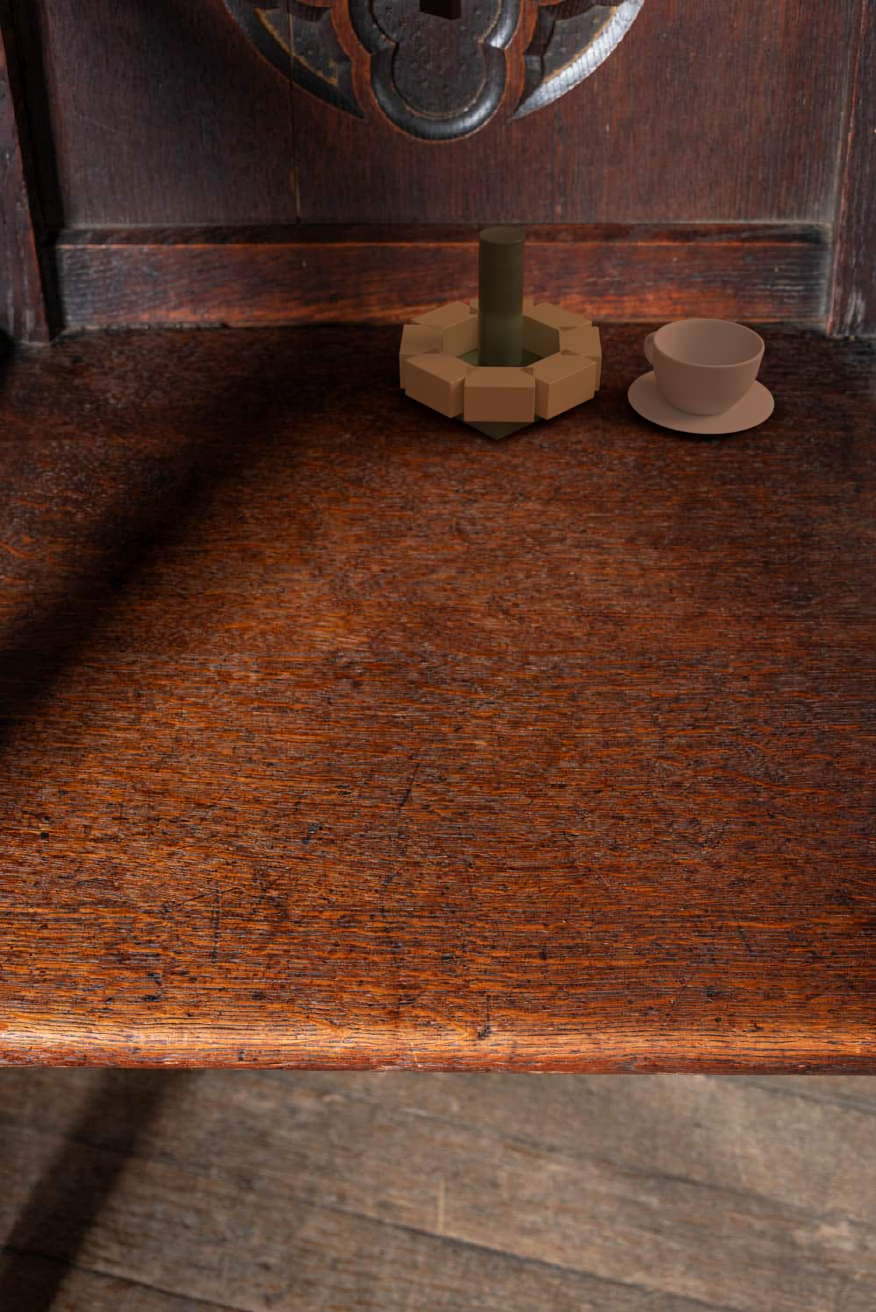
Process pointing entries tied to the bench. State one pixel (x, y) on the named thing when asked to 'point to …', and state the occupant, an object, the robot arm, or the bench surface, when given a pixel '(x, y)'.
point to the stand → (500, 314)
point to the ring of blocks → (500, 389)
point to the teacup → (702, 378)
